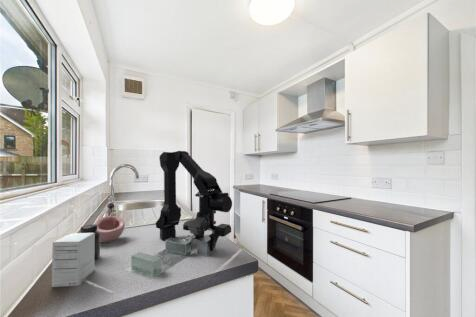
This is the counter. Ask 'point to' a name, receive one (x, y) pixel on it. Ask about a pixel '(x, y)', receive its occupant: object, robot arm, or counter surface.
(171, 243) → the sliding jaw
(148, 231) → the counter surface
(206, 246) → the steel block
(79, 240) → the supplement box
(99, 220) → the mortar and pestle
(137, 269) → the vise
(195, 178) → the robot arm
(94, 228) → the supplement bottle
